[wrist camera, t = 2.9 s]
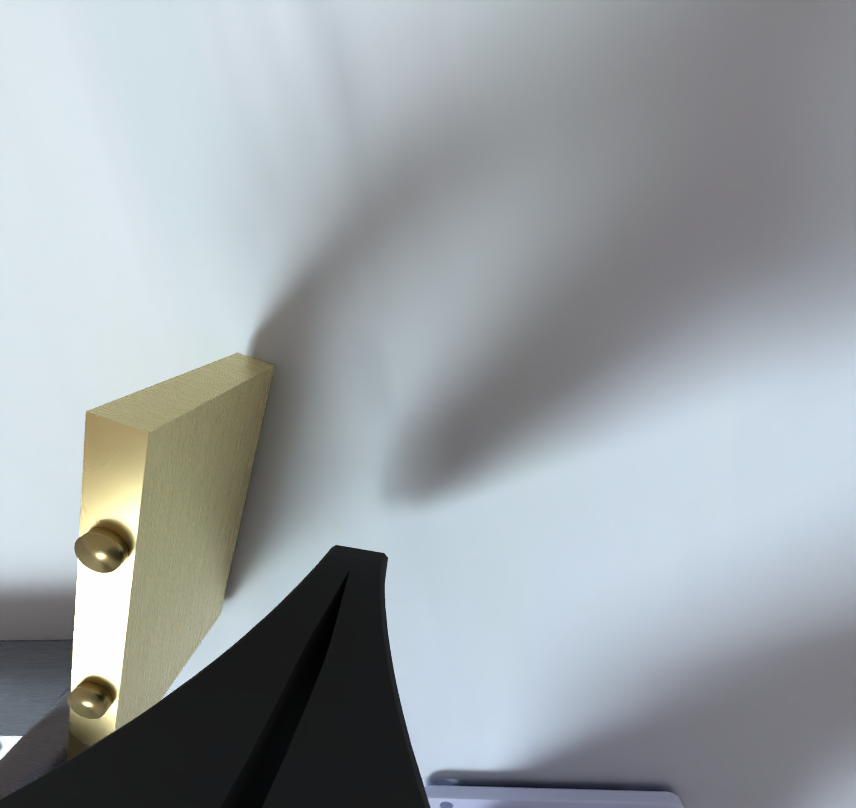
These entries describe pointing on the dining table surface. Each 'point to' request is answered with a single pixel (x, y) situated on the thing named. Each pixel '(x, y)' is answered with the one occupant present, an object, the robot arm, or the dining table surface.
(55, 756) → the hinge base
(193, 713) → the robot arm
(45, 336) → the dining table surface
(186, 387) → the brass leaf
